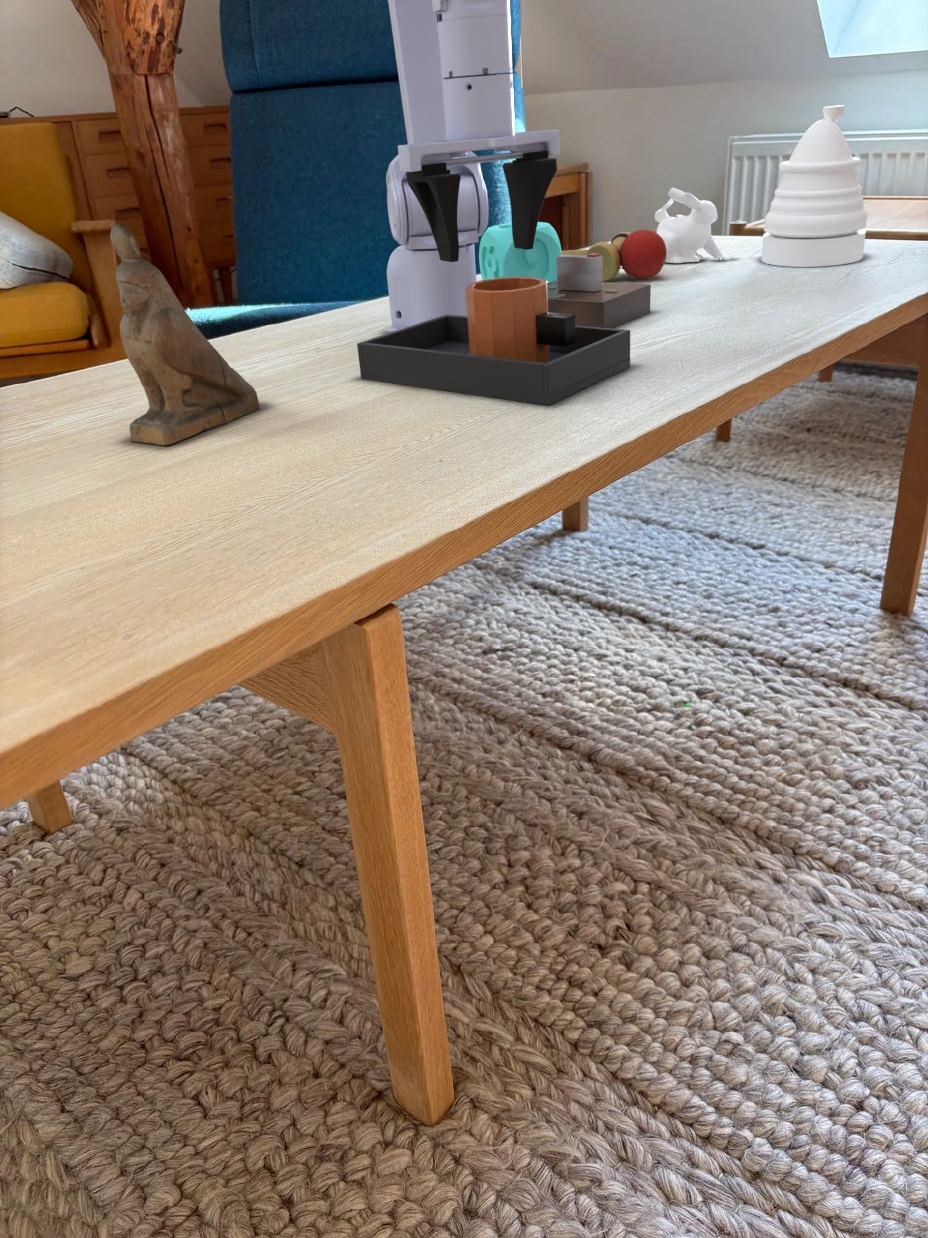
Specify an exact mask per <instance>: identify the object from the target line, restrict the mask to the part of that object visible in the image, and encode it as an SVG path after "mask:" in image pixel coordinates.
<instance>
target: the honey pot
mask: <svg viewBox="0 0 928 1238" xmlns="http://www.w3.org/2000/svg"><path fill="white" fill-rule="evenodd" d="M845 106H846V105H830V106H823V107H822V113H823V118H822V119H821V118H820V119H819V120H817V121H815V122H813V123H812V124H811V125H810V126H809V127H808V129H806V131H805V132H804V133H803V135H802V136H801V138H800V140H799V141H798V143H797V144H796V146H795V148H794V150H793V151H792V154H791V156H790V157H789V159H788V160H786V161H782V162H780V163H779V165H778V169H779V171H780V172H783V173H782V176H781V178H780V181H779V183H778V186H777V188H776V189H775V190H774V193H773V194H774V197H773V199H772V201H771V202H770V205H769V206H770V209H769V211H768V212H767V213H766V215H765V217H764V221H763V224H764V227H763V231H764V233H763V235H762V248H761V262H762V263H764V264H766V265H772V266H778V267H791V268H813V267H815V268H816V267H817V268H818V267H831V266H839V265H847V264H851V263H856V262H858V261H861V260H863V258H864V250H865V242H866V233H867V232H866V230H865V228H867V221H868V212H867V211H866V209H865V208H864V203H865V201H864V198H863V196H862V191H863V188H862V185H860V181H859V177H858V173H857V168H858V167H860V166H861V165H862V160H861V159H860V158H859V157H853V155H852V152H851V148H850V146H849V144H848V142H847V141H848V140H847V139H846V137H845V135H844V133H843V131H842V130H841V128H840V127H839V125H837V122H838V121H839V120H840V119H841V118H842V116H843V114H844V111H845Z"/></svg>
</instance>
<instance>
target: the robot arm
mask: <svg viewBox="0 0 928 1238" xmlns="http://www.w3.org/2000/svg"><path fill="white" fill-rule="evenodd" d="M387 2H388V10H389V17H390V24H391V32H392V38H393V46H394V52H395V54H394V55H395V61H396V68H397V69H396V70H397V74H398V83H399V89H400V97H401V98H400V99H401V105H402V112H403V119H404V127H405V133H406V134H405V135H406V139H407V140H406V141H407V144H399V145H397V153H398V154H397V155H396V156H395V157H394V158H393V159H392V160H391V161H390V162H389V164H388V167H387V170H386V174H385V175H386V177H385V182H386V183H385V184H386V203H387V213H388V222H389V227H390V232H391V235H392V237H393V239H394V240H395V241H396V242H397V243H398V245H399V246H398V247H396V248H395V249H393V251H392V252H391V254H390V256H389V259H388V262H387V267H386V280H387V291H388V299H389V300H388V301H389V309H390V310H389V311H390V320H391V326H390V327H387V328H386V329H387V333H391V332H394V331H397V330H400V329H403V328H406V327H409V326H413V325H416V324H419V323H422V322H425V321H428V320H431V319H434V318H437V317H440V316H443V315H458V316H467V301H466V287H467V286H468V284H471V283H474V282H477V281H478V280H477V267H476V250H475V244H477V243H478V244H479V237H482V236H483V234H484V233H485V231H486V230H487V229H488V228H487V227H488V223H489V215H490V214H489V197H488V190H487V187H486V183H485V180H484V178H483V173H482V167H481V164H482V163H483V164H484V163H492V162H500V161H509V160H512V161H509V162H504V163H503V164H502V166H501V167H502V170H503V174H504V178H505V183H506V186H507V193H508V196H509V205H510V215H511V216H510V217H511V218H510V219H511V223H512V236H513V242H514V247H515V248H519V249H525V250H529V249H533V245H534V239H535V234H536V229H537V224H538V222H539V219H540V215H541V210H542V207H543V204H544V201H545V198H546V195H547V192H548V190H549V188H550V186H551V183H552V181H553V179H554V177H555V176H556V173H557V171H558V158H557V157H549V156H558V155H560V130H559V129H541V130H531V131H521V132H516V128H515V125H516V124H515V101H514V99H515V98H514V81H513V80H514V79H513V78H514V77H513V76H514V75H513V56H512V55H513V54H512V53H513V51H512V30H511V29H512V28H511V7H510V6H511V5H510V3H511V2H510V0H387ZM486 150H487V151H488V150H494V151H495V152H502V153H493V154H486V155H476V153H474V151H486Z"/></svg>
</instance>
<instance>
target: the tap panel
mask: <svg viewBox="0 0 928 1238" xmlns="http://www.w3.org/2000/svg"><path fill="white" fill-rule="evenodd" d="M547 286H548V312H551V313H563V314H575V325H576V326H588V327H600V328H612V329H614V328H615V327H619V326H621V325H623V324H625V323H628V322H631V321H632V320H635V319H637V318H640V317H642V316H645V315H647V314H649V313H651V293H652V292H651V291H652V290H651V289H652V285H651V284H650V283H632V282H631V283H630V282H614V281H613V282H611V281H603V289H602V290H600V291H597V292H590V291H574V290H558V289H557V280H556V281H553V282H550V283H547Z"/></svg>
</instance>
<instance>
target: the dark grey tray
mask: <svg viewBox="0 0 928 1238" xmlns="http://www.w3.org/2000/svg"><path fill="white" fill-rule="evenodd" d="M356 348H357V354H358V356H357V357H358V364H359V370H360V371H359V372H360V379H361V380H368V381H375V382H380V383H388V384H395V385H396V384H397V385H402V386H410V387H417V388H423V389H430V390H438V391H445V392H453V393H458V394H459V393H460V394H465V395H474V396H481V397H486V398H493V399H494V398H495V399H501V400H508V401H509V400H510V401H516V402H523V403H530V404H536V405H545V406H551V405H554V404H556V403H557V402H560V401H562V400H564V399H565V398H568V397H570V396H572V395H574V394H576V393H579V392H580V391H583V390H585V389H587V388H589V387H591V386H593V385H595V384H597V383H599V382H602V381H603V380H606V379H608V378H609V377H612V376H614V375H616V374H618V373H620V372H623V371H624V370H626V369H628V368H630V367H631V330H630V329H623V328H600V327H588V326H576V325H575V343H573V344H571V345H568V346H566V347H563V346H553V345H549V362H548V363H542V362H533V361H525V360H516V359H507V358H498V357H489V356H480V355H471V354H470V347H469V331H468V316H458V315H443V316H440V317H437V318H434V319H431V320H428V321H425V322H422V323H419V324H416V325H413V326H409V327H406V328H403V329H400V330H397V331H394V332H391V333H390V332H387V333H385V334H382V335H379V336H376V337H373V338H370V339H366V340H363V341H360V342H358V343H356Z"/></svg>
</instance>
